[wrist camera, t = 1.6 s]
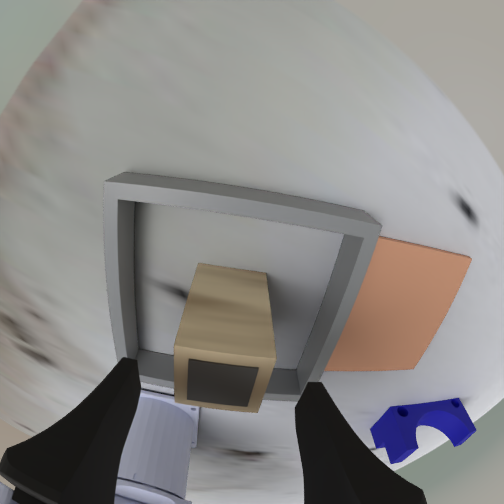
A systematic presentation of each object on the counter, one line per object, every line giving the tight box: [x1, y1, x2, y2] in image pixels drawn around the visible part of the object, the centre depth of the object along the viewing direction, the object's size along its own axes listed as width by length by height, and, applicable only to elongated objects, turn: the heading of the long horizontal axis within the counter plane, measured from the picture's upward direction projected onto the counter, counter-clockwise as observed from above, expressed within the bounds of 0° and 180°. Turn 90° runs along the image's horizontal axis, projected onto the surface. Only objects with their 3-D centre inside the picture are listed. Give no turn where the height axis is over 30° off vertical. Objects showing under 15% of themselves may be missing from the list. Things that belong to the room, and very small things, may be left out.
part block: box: [174, 263, 277, 413], centre depth 15 cm, size 4×4×7 cm
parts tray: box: [103, 172, 382, 401], centre depth 17 cm, size 14×14×2 cm
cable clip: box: [370, 398, 476, 464], centre depth 23 cm, size 12×4×6 cm, turn 77°
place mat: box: [324, 236, 472, 371], centre depth 19 cm, size 11×9×1 cm
